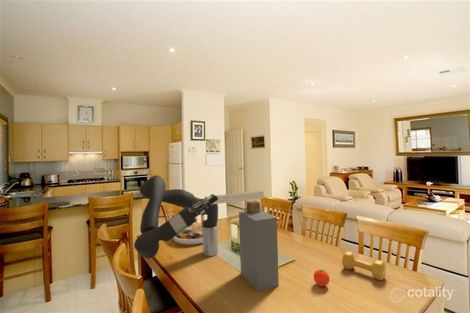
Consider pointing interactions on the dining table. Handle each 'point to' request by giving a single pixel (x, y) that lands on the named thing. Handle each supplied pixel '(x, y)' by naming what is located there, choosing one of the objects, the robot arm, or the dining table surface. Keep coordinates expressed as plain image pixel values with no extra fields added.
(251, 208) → the walnut block
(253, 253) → the stand
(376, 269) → the dumbbell
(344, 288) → the dining table surface
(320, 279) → the tomato
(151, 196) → the robot arm
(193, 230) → the bowl
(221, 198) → the rod
